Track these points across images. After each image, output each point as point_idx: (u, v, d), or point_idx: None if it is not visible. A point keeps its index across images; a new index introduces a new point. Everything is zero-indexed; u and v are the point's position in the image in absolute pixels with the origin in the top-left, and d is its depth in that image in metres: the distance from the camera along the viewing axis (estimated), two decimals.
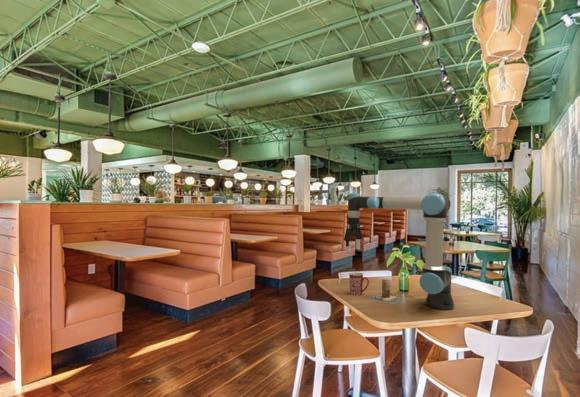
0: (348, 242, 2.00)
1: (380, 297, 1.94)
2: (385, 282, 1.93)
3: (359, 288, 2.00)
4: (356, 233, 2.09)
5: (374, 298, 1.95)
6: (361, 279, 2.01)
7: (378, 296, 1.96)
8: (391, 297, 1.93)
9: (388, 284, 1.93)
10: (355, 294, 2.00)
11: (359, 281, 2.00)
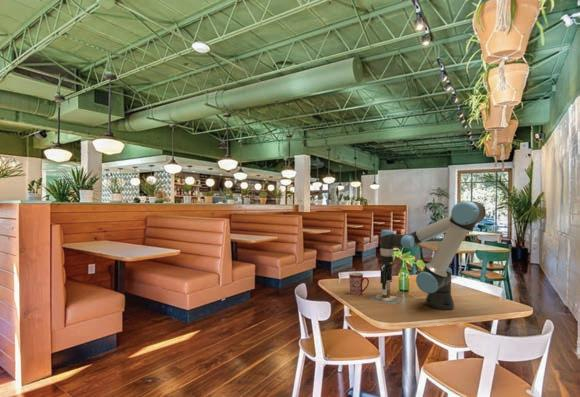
0: (385, 285, 1.92)
1: (380, 297, 1.94)
2: None
3: (359, 288, 2.00)
4: (387, 273, 1.97)
5: (374, 298, 1.95)
6: (361, 279, 2.01)
7: (378, 296, 1.96)
8: (391, 297, 1.93)
9: (388, 284, 1.93)
10: (355, 294, 2.00)
11: (359, 281, 2.00)
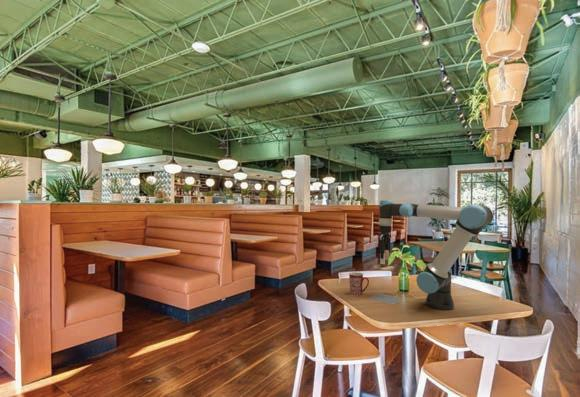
0: (383, 254, 1.93)
1: (378, 267, 1.95)
2: None
3: (359, 288, 2.00)
4: (386, 243, 1.98)
5: (374, 298, 1.95)
6: (361, 279, 2.01)
7: (376, 266, 1.97)
8: (389, 267, 1.94)
9: (386, 254, 1.94)
10: (355, 294, 2.00)
11: (359, 281, 2.00)
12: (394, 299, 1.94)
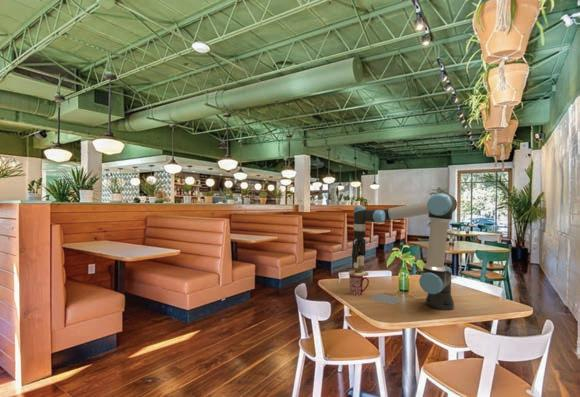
0: (356, 258, 1.99)
1: (353, 272, 2.02)
2: (358, 258, 2.02)
3: (359, 288, 2.00)
4: (361, 248, 2.06)
5: (374, 298, 1.95)
6: (361, 279, 2.01)
7: (351, 271, 2.04)
8: (363, 273, 2.02)
9: (360, 260, 2.01)
10: (355, 294, 2.00)
11: (359, 281, 2.00)
12: (394, 299, 1.94)
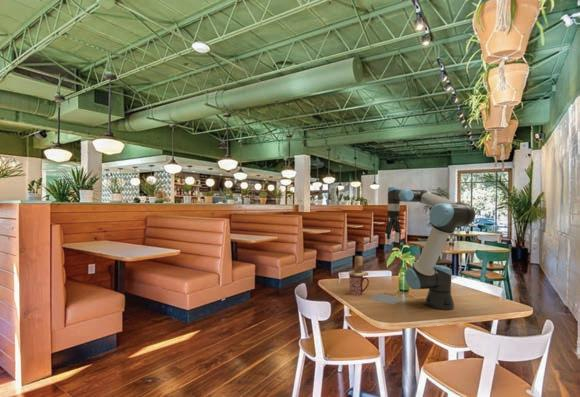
0: (389, 235, 2.02)
1: (353, 272, 2.02)
2: (357, 258, 2.02)
3: (359, 288, 2.00)
4: (395, 226, 2.12)
5: (374, 298, 1.95)
6: (361, 279, 2.01)
7: (351, 271, 2.04)
8: (363, 273, 2.02)
9: (360, 260, 2.01)
10: (355, 294, 2.00)
11: (359, 281, 2.00)
12: (394, 299, 1.94)
